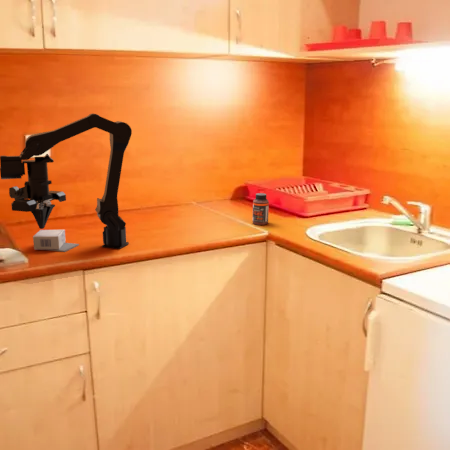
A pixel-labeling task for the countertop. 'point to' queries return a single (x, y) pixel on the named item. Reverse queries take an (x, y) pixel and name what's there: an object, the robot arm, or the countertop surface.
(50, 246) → the medicine box
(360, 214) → the countertop surface
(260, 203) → the supplement bottle
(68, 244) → the mat
